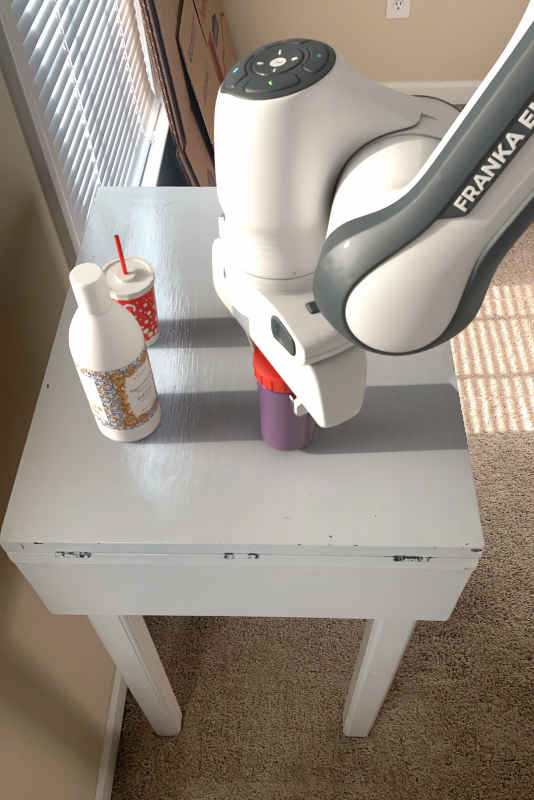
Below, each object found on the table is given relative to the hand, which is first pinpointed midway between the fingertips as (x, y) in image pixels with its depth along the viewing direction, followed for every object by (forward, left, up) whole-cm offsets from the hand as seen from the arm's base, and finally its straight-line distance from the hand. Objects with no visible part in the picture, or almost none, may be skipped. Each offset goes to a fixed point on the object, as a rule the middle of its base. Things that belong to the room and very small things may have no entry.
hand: (282, 384), depth 66 cm
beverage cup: (+7, -21, -8) cm, 24 cm away
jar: (-1, 0, -8) cm, 8 cm away
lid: (0, 0, +3) cm, 3 cm away
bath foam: (+13, -10, -8) cm, 19 cm away
